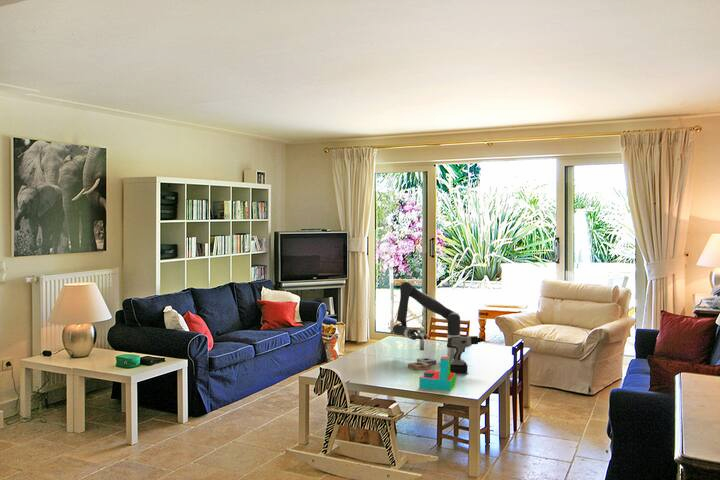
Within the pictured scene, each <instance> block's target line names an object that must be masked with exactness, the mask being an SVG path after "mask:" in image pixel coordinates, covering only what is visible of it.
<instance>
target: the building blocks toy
mask: <svg viewBox="0 0 720 480" xmlns="http://www.w3.org/2000/svg"><path fill="white" fill-rule="evenodd" d="M450 360H451V358H450V357H447V356H441V357H440V360H439V362H440V368H439V371H436V370H428V369H427V370H426V369H425V370H424V372H423V376H419V380H418V381H419V382H418V384H419V389H424V388H426V390H435V389H436V390H437V391H445V392H446V391H447V392H448V391H449V392H451V391H452V388H453V387H454V386H455V384H456V373H451V372H450Z"/></svg>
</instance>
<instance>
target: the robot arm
mask: <svg viewBox="0 0 720 480" xmlns="http://www.w3.org/2000/svg"><path fill="white" fill-rule="evenodd" d="M399 290H400V292H399V293H400V297H399V305H398V308H397V315H396V321H397V322H398V323H400V324H395V325H394V326H393V327H392V332H393V333H394V335H398V336H403V337H406V338H407V339H409V340H413V341H416V340H419V341H420V340H422V336H420V331H419V330H417V329H415V328H411V327H408V326H407V325H408V324H407V316H408V309H409V308H408V307H409V301H410V300H409V299H410V298H412V299H414V300H415V301H416V302H417V303H418V304H420V305H421V306H423V307H424V308H425V309H427V310H428V311H430V312H431V313H435V314H437V315H439V316H441V317H442V318H444V320H446V321H447V328H446V329H447V337H446V338H447V339H446V340H447V342H448V338H451V337H461V316H460V314H459V313H458V312H455V311H454V310H452V309H450V308H448V307H447V306H445V305H444V304H442V303H441V302H440V301H438V300H437V299H435V298H434V297H432V296H431V295H429V294H426V293H425V292H422V291H420V290H419V289H418V288H416V287H415V286H414V285H412V283H410V282H409V281H403V282H402V283H401V284H400V286H399ZM424 340H428V336H427V334H426V333H425V332H424ZM446 349H447V351H446V352H447V353H446V355H447V356H446V357H450V359H454V355H455V353H456V349H455V348H447V347H446ZM460 358H462V355H461V356H460Z"/></svg>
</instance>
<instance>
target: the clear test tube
mask: <svg viewBox="0 0 720 480" xmlns="http://www.w3.org/2000/svg"><path fill="white" fill-rule="evenodd" d="M419 333H420V336H422V340H420V339H419V351H420V352H421V351H422V352H423V351H425V339H424V333H425V327H424V326H420V327H419Z"/></svg>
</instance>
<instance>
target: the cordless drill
mask: <svg viewBox="0 0 720 480" xmlns="http://www.w3.org/2000/svg"><path fill="white" fill-rule="evenodd" d="M484 340H485V339H484V338H482V337H478V335H474V336H473V335H469V336H468V335H464V336H461V335H460V337H451V338H448V342H447V343H446V349H447V348H455V349H456V353H455V355H454V358H453V359H452V360H451V362H450V364H449V367H450V372H451V373H455V374H460V375H462V374H463V375H466V374H468V368H469V367H468V364H467V362H466V361H465V360H464V359H461V357H462V354H463V353H465V352H466V349H467V348H469V347H471V346H472V345H478V344H479V343H482V342H485V341H484ZM460 356H461V357H460Z"/></svg>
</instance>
